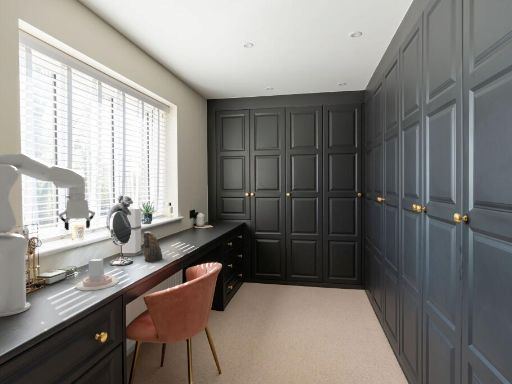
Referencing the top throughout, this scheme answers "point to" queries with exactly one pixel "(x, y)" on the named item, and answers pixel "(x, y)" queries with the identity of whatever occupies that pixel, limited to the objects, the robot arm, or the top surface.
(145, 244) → the rock
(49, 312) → the top surface
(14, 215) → the robot arm
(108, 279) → the vanity tray
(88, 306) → the top surface
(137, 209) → the white tall boxy piece
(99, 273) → the skincare box
